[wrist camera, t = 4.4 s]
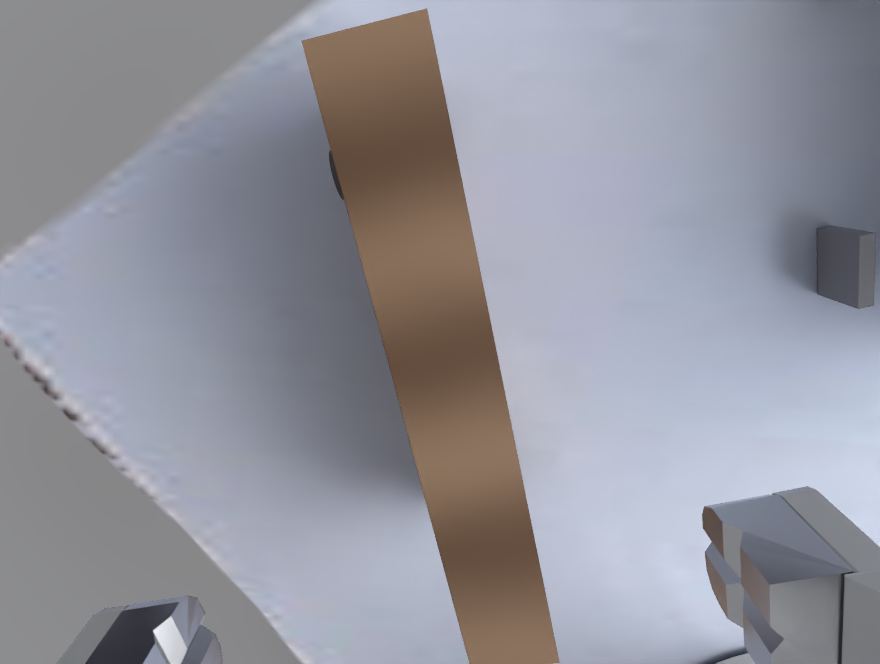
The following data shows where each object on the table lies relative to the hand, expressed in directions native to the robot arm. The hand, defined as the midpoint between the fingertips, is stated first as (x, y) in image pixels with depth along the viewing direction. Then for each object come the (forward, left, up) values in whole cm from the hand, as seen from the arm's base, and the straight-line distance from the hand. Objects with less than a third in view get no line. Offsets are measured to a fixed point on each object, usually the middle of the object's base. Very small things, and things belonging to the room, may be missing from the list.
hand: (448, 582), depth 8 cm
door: (0, 0, -17) cm, 17 cm away
